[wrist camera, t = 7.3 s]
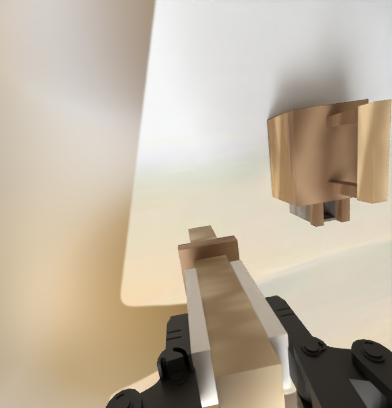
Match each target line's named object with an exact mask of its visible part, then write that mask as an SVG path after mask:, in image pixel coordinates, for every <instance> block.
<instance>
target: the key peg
mask: <svg viewBox="0 0 392 408" xmlns="http://www.w3.org/2000/svg"><path fill="white" fill-rule="evenodd" d="M188 230H189V236H190V242H191V243H188V244H182V245H178V251H179V257H180V263H181V268H182V274H183V279H184V285H185V291H186V282H185V270H188V269H193V268H196V273H197V278H198V284H199V289H200V295H201V300H202V306H203V312H204V317H205V323H206V328H207V334H208V339H209V345H210V350H211V360H212V367H213V373H214V379H215V385H216V391H217V398H218V404H219V408H285V401H284V389H283V376H282V364H281V362H280V360H279V358H278V356H277V354H276V352H275V350H274V348H273V346H272V344H271V342H269V340H268V338H267V336H266V334H265V332H264V330H263V328H262V326H261V324H260V322H259V320H258V318H257V316H256V314H255V312H254V310H253V308H252V306H251V304H250V302H249V300H248V298H247V297H246V295H245V293H244V291H243V289H242V287H241V285H240V283H239V281H238V279H237V277H236V275H235V273H234V271H233V269H232V267H231V265H230V262H232V261H237V260H239V251H238V243H237V239H236V238H235V236H228V237H222V238H217V237H216V235H215V233H214V231H213V229H212V227H211V225H210V226H204V227H198V228H193V229H188ZM186 296H187V294H186Z"/></svg>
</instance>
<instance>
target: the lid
mask: <svg viewBox="0 0 392 408" xmlns="http://www.w3.org/2000/svg"><path fill="white" fill-rule="evenodd" d="M390 123H391V99H389V100H383V101H376V102H372V103H368V99H365V100H358V101H351V102H344V103H337V104H330V105H323V106H316V107H309V108H302V109H295V110H291V111H289V112H288V126H289V144H290V162H291V180H292V198H293V205H295V206H297V207H299V206H305V205H310V222H311V225H313V226H315V227H317V226H323V225H324V213H323V202H328V201H334V200H335V212H336V220H338V221H340V222H346V221H350V198H352V197H355V198H357V200H359V201H363V202H368V203H372V204H373V203H379V202H385V201H387V199H388V174H389V148H390Z"/></svg>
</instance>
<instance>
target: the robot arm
mask: <svg viewBox="0 0 392 408" xmlns="http://www.w3.org/2000/svg"><path fill="white" fill-rule="evenodd" d="M230 265H231V267H232V269H233V271H234V273H235V275H236V277H237V279H238V281H239V283H240V285H241V287H242V289H243V291H244V293H245V295H246V297H247V298H248V300H249V302H250V304H251V306H252V308H253V310H254V312H255V314H256V316H257V318H258V320H259V322H260V324H261V326H262V328H263V330H264V332H265V334H266V336H267V338H268V340H269V342H271V344H272V346H273V348H274V350H275V352H276V354H277V356H278V358H279V360H280V362H281V364H282V376H283V389H289V388H291V379H292V381H293V383H294V385H295V387H296V392H297V407H298V408H392V352H391V351H390V350H388V349H387V348H386V347H384V346H382V345H381V344H379V343H376V342H374V341H371V340H365V339H362V340H356V341H355V342H353V344H352V347H351V349H341V348H333V347H329V346H327V345H326V344H325V343H324V342H323V341H321V340H320V339H318V338H316V337H313V336H312V335H311V334H310V333H309V331H308V330H307V329H306V327H305V326H304V325H303V324H302V322H301V321H300V320H299V318H298V317H297V316H296V314H295V313H294V312H293V310H292V309H290V307H289V305H288V304H287V303H286V301H285V300H283V299H282V298H280V297H279V296H272V297H266V298H265V297H264V296H263V294H262V293H261V291H260V290H259V288H258V286H257V285H256V283H255V282H254V280H253V279H252V277H251V275H250V274H249V272H248V271H247V269H246V268H245V266H244V264H243V263H242V261H241V260H237V261H232V262H230ZM185 282H186V294H187V307H188V313H187V314H181V315H176V316H172V317H171V318H170V320H169V322H168V323H167V334H166V349H165V350H164V351H163V352H162V353H161V354H160V356H159V358H158V361H157V367H158V372H159V376H160V379H159V381H158V382H157V383H156V384H155V385H153V386H152V387H150V388H149V389H147V390H145V391H143V392H142V393H139V392H138V391H136V390H135V389H126V390H122V391H121V392H119V393H117V394H116V395H115V396H114V397H113V398H112V399H111V400H110V401H109V403H108V405H107V406H106V408H202V407H206V406H211V405H215V404H218V398H217V391H216V385H215V379H214V373H213V367H212V360H211V350H210V345H209V339H208V334H207V328H206V323H205V317H204V312H203V306H202V300H201V295H200V289H199V284H198V278H197V273H196V268H193V269H188V270H185Z"/></svg>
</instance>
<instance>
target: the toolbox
mask: <svg viewBox="0 0 392 408" xmlns="http://www.w3.org/2000/svg"><path fill="white" fill-rule="evenodd" d="M267 125H268V138H269V152H270V165H271V179H272V192H273V197H275V198H277V199H280V200H282V201H285V202H287V203H290V213H292V214H294V215H296V216H298V217H301V218H303V219H305V220H307V221H309V222H310V205H305V206H299V207H297V206H295V205H293V198H292V180H291V162H290V144H289V126H288V112H286V113H284V114H281V115H279V116H276V117H274V118H272V119H269V120H267ZM323 213H324V222H326V221H331V220H336V212H335V200H334V201H328V202H323Z"/></svg>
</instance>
